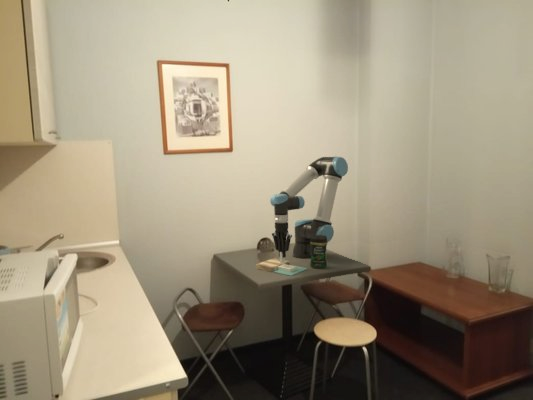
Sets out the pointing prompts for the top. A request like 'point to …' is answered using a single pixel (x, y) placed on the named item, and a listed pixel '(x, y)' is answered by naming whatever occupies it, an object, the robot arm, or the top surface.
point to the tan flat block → (270, 265)
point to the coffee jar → (319, 251)
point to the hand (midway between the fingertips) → (282, 262)
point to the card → (287, 268)
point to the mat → (299, 269)
